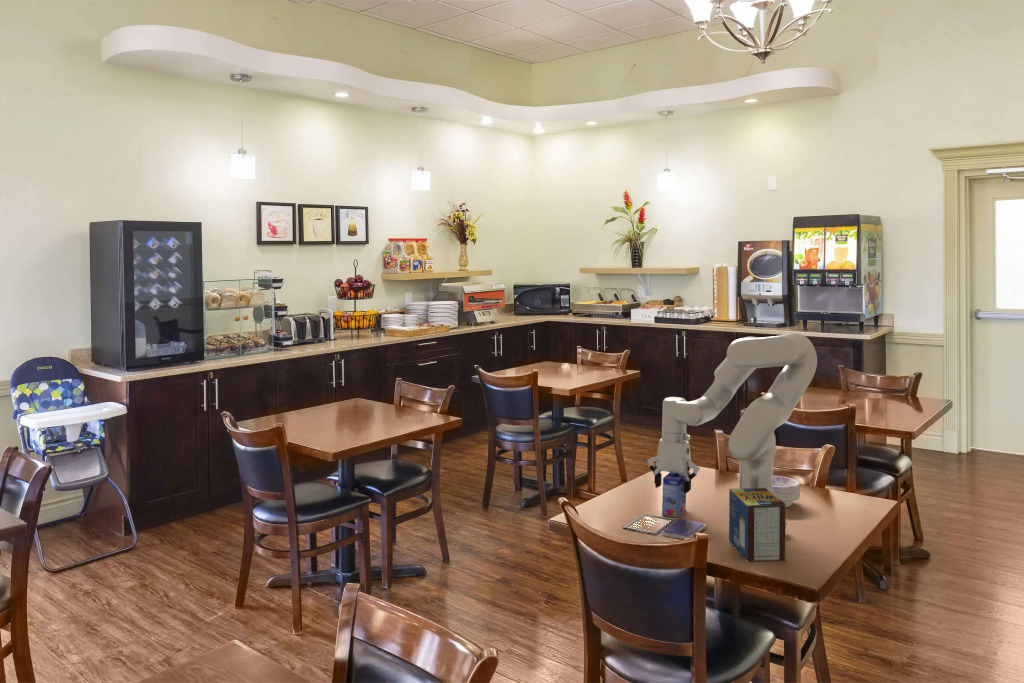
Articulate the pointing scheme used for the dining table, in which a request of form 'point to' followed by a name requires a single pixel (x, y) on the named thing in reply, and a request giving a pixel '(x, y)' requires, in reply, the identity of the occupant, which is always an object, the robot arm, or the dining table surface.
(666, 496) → the ink cartridge box
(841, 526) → the dining table surface
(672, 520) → the marked card
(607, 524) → the dining table surface
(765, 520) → the protein box
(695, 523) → the ink pad
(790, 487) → the paper bowls
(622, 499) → the dining table surface
